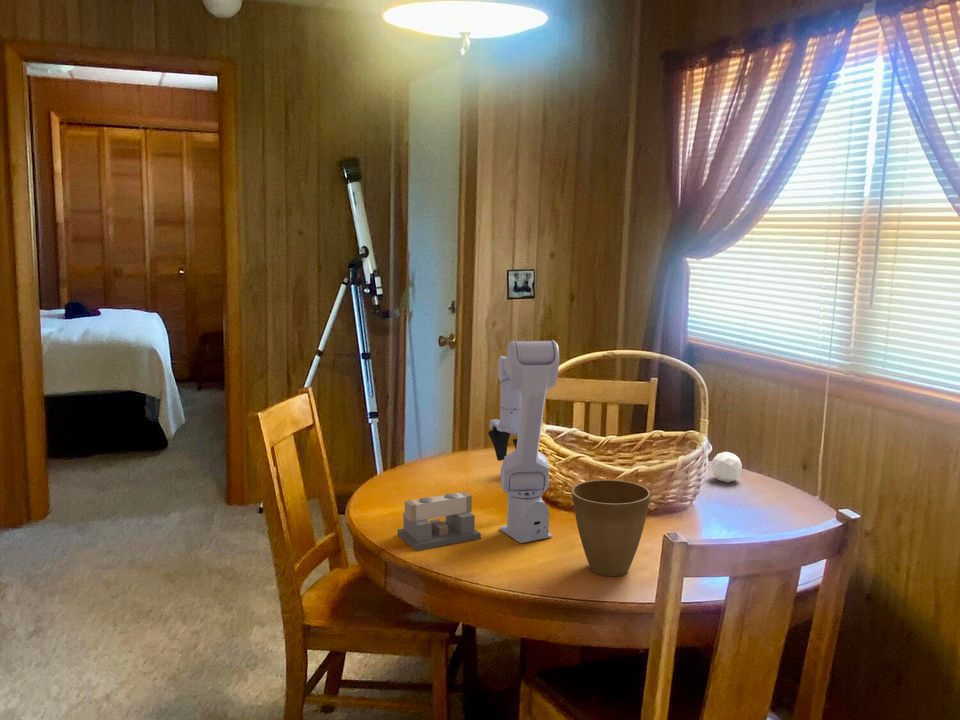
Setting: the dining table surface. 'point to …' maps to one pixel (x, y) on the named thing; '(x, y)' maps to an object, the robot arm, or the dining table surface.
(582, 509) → the plant pot
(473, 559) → the dining table surface
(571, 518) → the dining table surface
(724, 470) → the geometric ball
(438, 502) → the frame bar
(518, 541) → the robot arm
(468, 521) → the grey fixture base
